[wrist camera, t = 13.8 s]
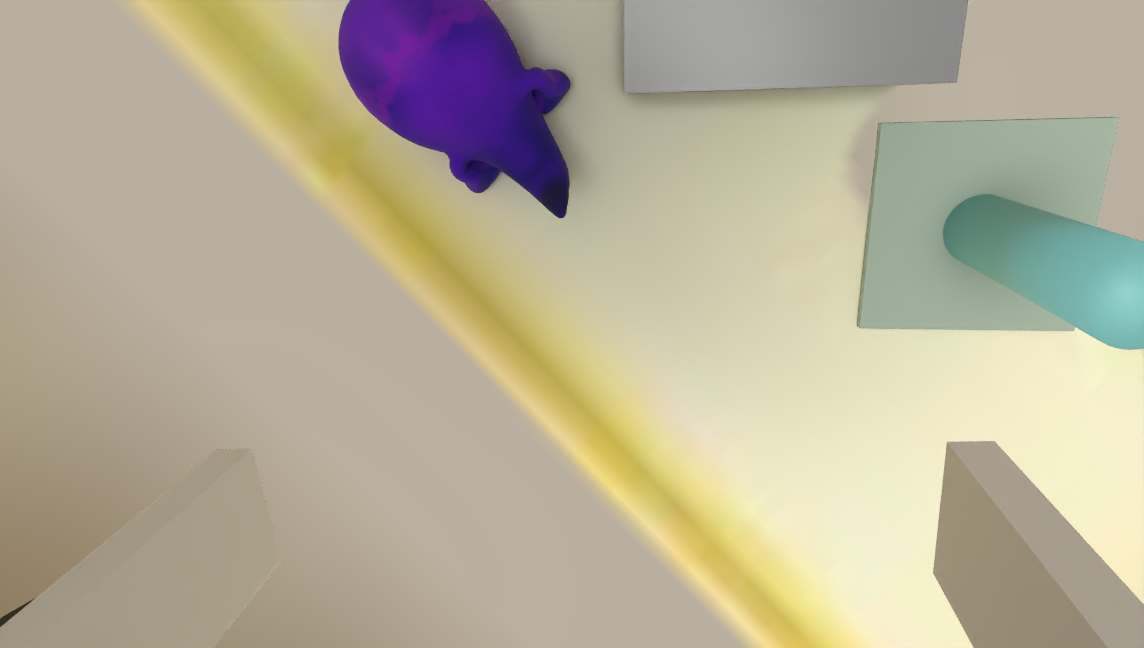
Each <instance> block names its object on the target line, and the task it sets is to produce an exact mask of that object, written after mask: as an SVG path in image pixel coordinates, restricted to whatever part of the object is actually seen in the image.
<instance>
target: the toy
mask: <svg viewBox="0 0 1144 648" xmlns="http://www.w3.org/2000/svg"><path fill="white" fill-rule="evenodd" d="M339 54H340V60H341V64H342V67H343V70H344V72H345V75H346V77H347V79H348V81H349V83H350V85H351V87H352V89H353V91H354V92H355V94H356V96H357V97H358V98H359V100H360V101H361V102H362V104H363V105H364V106H365V107H366V108H367V110H368V111H369V112H370V113H371V114H372V115H373V116H375V117H376V118H377V119H378V120H379V121H380V122H382V123H383V124H384V125H386V126H387V127H388V128H390V129H391V130H393V131H394V132H395V133H397V134H398V135H400V136H401V137H403V138H405V139H407V140H409V141H411V142H413V143H415V144H417V145H420V146H423V147H426V148H429V149H433V150H437V151H441V152H445V153H446V154H447V155H448V157H449V159H450V169H451V172H452V173H453V175H454V176H455V177H456V178H457V179H458V180H460V181H462V182H465V184H466V185H467V187H468V188H469V189H470V190H471V191H473V192H475V193H481V192H484V191H485V190H486V189H487V188H488V187H489V186H490V185H491V184H492V183H493V181H494V180H495V179H496V178H497V176H498V175H499V173H500V171H502V172H504V173H505V174H507V175H508V176H509V177H511V178H512V179H513V180H514V181H516V182H517V183H518V184H520V185H521V186H522V187H523V188H525V189H526V190H527V191H528V192H530V193H531V194H532V195H533V196H534V197H535V198H536V199H537V200H538V201H539V202H541V203H542V204H543V205H544V206H545V207H546V208H547V209H548V210H549V211H550V212H551V213H553V214H554V215H555V216H557V217H558V218H564V217H565V215H566V209H567V205H568V198H569V185H570V183H569V174H568V169H567V166H566V163H565V161H564V159H563V156H562V154H561V152H560V150H559V148H558V146H557V144H556V142H555V140H554V138H553V136H552V134H551V132H550V130H549V128H548V126H547V124H546V122H545V120H544V118H543V116H542V114H546V113H548V112H550V111H551V110H552V109H553V108H554V107H555V106H556V105H557V104H558V103H559V102H560V100H561V99H562V98H563V96H564V95H565V94H566V92H567V91H568V89H569V88H570V80H569V78H568V77H567V76H566V75H565V74H564V73H563V72H561V71H558V70H545V71H544V70H542V69H540V68H536V67H535V68H532V69H530V70H525V69H524V67H523V66H522V63H521V61H520V58H519V56H518V53H517V50H516V48H515V46H514V44H513V42H512V40H511V38H510V37H509V35H508V33H507V31H506V29H505V28H504V26H503V25H502V23H501V22H500V20H499V19H498V17H497V16H496V15H495V14H494V12H493V11H492V10H491V8H490V7H489V6H488V4H487V3H486V2H485V1H484V0H350V1H349V3H348V5H347V7H346V9H345V11H344V14H343V17H342V20H341V24H340V30H339Z"/></svg>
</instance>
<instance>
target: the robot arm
mask: <svg viewBox="0 0 1144 648" xmlns="http://www.w3.org/2000/svg"><path fill="white" fill-rule="evenodd" d="M281 562H282V561H281V557H280V553H279V549H278V546H277V542H276V538H275V534H274V530H273V527H272V523H271V519H270V515H269V512H268V508H267V504H266V500H265V496H264V493H263V489H262V485H261V481H260V477H259V474H258V470H257V466H256V462H255V459H254V455H253V451H252V449H217V450H215V451H214V452H213V453H212V454H211V455H209V456H208V457H207V458H206V459H204V460H203V461H202V462H201V463H200V464H198V465H197V466H196V467H195V468H194V469H193V470H191V471H190V472H189V473H187V474H186V475H185V476H184V477H183V478H182V479H180V480H179V481H178V482H177V483H175V484H174V485H173V486H172V487H170V488H169V489H168V490H167V491H166V492H164V493H163V494H162V495H161V496H159V497H158V498H157V499H156V500H155V501H153V502H152V503H151V504H150V505H148V506H147V507H146V508H145V509H144V510H142V511H141V512H140V513H139V514H138V515H136V516H135V517H134V518H133V519H131V520H130V521H129V522H128V523H127V524H125V525H124V526H123V527H122V528H121V529H119V530H118V531H117V532H116V533H114V535H112V536H111V537H110V538H108V539H107V540H106V541H105V542H103V544H101V545H100V546H99V547H98V548H96V549H95V550H94V551H93V552H91V553H90V554H89V555H88V556H86V557H85V558H84V559H83V560H82V561H80V562H79V563H78V564H77V565H76V566H74V567H73V568H72V569H71V570H69V571H68V572H67V573H66V574H65V575H64V576H62V577H61V578H60V579H58V580H57V581H56V582H55V583H54V584H52V585H51V586H50V587H49V588H47V589H46V590H45V591H44V592H43V593H41V594H40V595H39V596H38V597H36V598H35V599H33V600H31V601H29V602H28V603H26V604H24V605H22V606H21V607H19V608H17V609H16V610H14V611H12V612H10V613H8V614H7V615H5V616H3V617H2V618H1V619H0V648H214V647H215V645H216V644H217V642H219V640H220V639H221V638H222V636H223V635H224V634H225V633H226V632H227V630H228V629H229V628H230V626H231V625H232V624H233V623H234V621H235V620H236V619H237V618H238V616H239V615H240V614H241V613H242V611H243V610H244V609H245V607H246V606H247V605H248V604H249V603H250V601H251V600H252V599H253V598H254V596H255V595H256V594H257V593H258V591H259V590H260V589H261V588H262V586H263V585H264V584H265V582H266V581H267V580H268V579H269V577H270V576H271V575H272V574H273V573H274V571H275V570H276V569H277V567H278V566H279V565H280V564H281ZM933 574H934V575H935V577H936V579H937V581H938V583H939V585H940V586H941V588H942V590H943V592H944V594H945V596H946V598H947V599H948V601H949V603H950V605H951V607H952V609H953V610H954V612H955V614H956V616H957V618H958V620H959V621H960V623H961V625H962V627H963V629H964V631H965V632H966V634H967V636H968V638H969V640H970V642H971V643H972V645H973V647H974V648H1144V604H1143V603H1142V602H1141V601H1140V600H1139V599H1138V598H1137V597H1136V595H1135V594H1134V593H1133V592H1132V591H1131V590H1130V589H1129V588H1128V587H1127V586H1126V585H1125V583H1124V582H1123V581H1122V580H1121V579H1120V578H1119V577H1118V576H1117V575H1116V574H1115V572H1114V571H1113V570H1112V569H1111V568H1110V567H1109V566H1108V565H1107V564H1106V563H1105V562H1104V560H1103V559H1102V558H1101V557H1100V556H1099V555H1098V554H1097V553H1096V552H1095V551H1094V549H1093V548H1092V547H1091V546H1090V545H1089V544H1088V543H1087V542H1086V541H1085V540H1084V539H1083V537H1082V536H1081V535H1080V534H1079V533H1078V532H1077V531H1076V530H1075V529H1074V528H1073V527H1072V525H1071V524H1070V523H1069V522H1068V521H1067V520H1066V519H1065V518H1064V517H1063V516H1062V514H1061V513H1060V512H1059V511H1058V510H1057V509H1056V508H1055V507H1054V506H1053V505H1052V504H1051V502H1050V501H1049V500H1048V499H1047V498H1046V497H1045V496H1044V495H1043V494H1042V493H1041V492H1040V490H1039V489H1038V488H1037V487H1036V486H1035V485H1034V484H1033V483H1032V482H1031V481H1030V479H1029V478H1028V477H1027V476H1026V475H1025V474H1024V473H1023V472H1022V471H1021V470H1020V469H1019V467H1018V466H1017V465H1016V464H1015V463H1014V462H1013V461H1012V460H1011V459H1010V458H1009V456H1008V455H1007V454H1006V453H1005V452H1004V451H1003V450H1002V449H1001V448H1000V447H999V446H998V444H997V443H996V442H995V441H979V442H947V447H946V456H945V466H944V475H943V485H942V494H941V503H940V513H939V522H938V531H937V541H936V550H935V560H934V569H933Z"/></svg>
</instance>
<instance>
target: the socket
mask: <svg viewBox="0 0 1144 648" xmlns="http://www.w3.org/2000/svg"><path fill="white" fill-rule="evenodd" d="M967 5H968V0H623V23H624V93H659V92H691V91H722V90H753V89H784V88H815V87H847V86H878V85H909V84H934V83H956V82H957V77H958V70H959V63H960V56H961V48H962V41H963V34H964V27H965V19H966V13H967Z"/></svg>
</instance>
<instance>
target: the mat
mask: <svg viewBox="0 0 1144 648" xmlns="http://www.w3.org/2000/svg"><path fill="white" fill-rule="evenodd" d="M1118 119H1119V118H1118V117H1096V118H1056V119H1019V120H1018V119H1017V120H979V121H939V122H938V121H937V122H900V123H878V131H877V142H876V151H875V160H874V169H873V179H872V188H871V198H870V207H869V216H868V226H867V235H866V245H865V254H864V264H863V273H862V283H861V292H860V301H859V311H858V320H857V326H858V327H859V328H871V329H949V330H1028V331H1074V328H1075V326H1073V325H1071V324H1069V323H1068V322H1066V321H1064V320H1062V319H1061V318H1059V317H1057V316H1055V315H1054V314H1052V313H1050V312H1048V311H1047V310H1045V309H1043V308H1041V307H1040V306H1038V305H1036V304H1034V303H1033V302H1031V301H1029V300H1027V299H1026V298H1024V297H1022V296H1020V295H1019V294H1017V293H1015V292H1013V291H1012V290H1010V289H1008V288H1006V287H1005V286H1003V285H1001V284H999V283H998V282H996V281H994V280H992V279H991V278H989V277H987V276H985V275H984V274H982V273H980V272H978V271H977V270H975V269H973V268H971V267H970V266H968V265H966V264H964V263H963V262H961V261H959V260H957V259H956V258H954V257H953V256H952V255H951V254H950V253H949V252H948V250H947V248H946V246H945V244H944V240H943V229H944V225H945V222H946V220H947V218H948V216H949V214H950V213H951V212H952V211H953V209H954V208H955V207H956V206H957V205H959V204H960V203H961V202H963V201H965V200H966V199H969V198H971V197H974V196H977V195H984V194H989V195H996V196H999V197H1002V198H1006V199H1009V200H1012V201H1015V202H1018V203H1021V204H1025V205H1028V206H1031V207H1034V208H1037V209H1041V210H1044V211H1047V212H1050V213H1053V214H1057V215H1060V216H1063V217H1066V218H1069V219H1073V220H1076V221H1079V222H1082V223H1085V224H1088V225H1092V226H1095V227H1096V223H1097V219H1098V214H1099V209H1100V205H1101V200H1102V195H1103V190H1104V186H1105V181H1106V176H1107V172H1108V167H1109V161H1110V157H1111V152H1112V148H1113V143H1114V138H1115V134H1116V129H1117V124H1118Z"/></svg>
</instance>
